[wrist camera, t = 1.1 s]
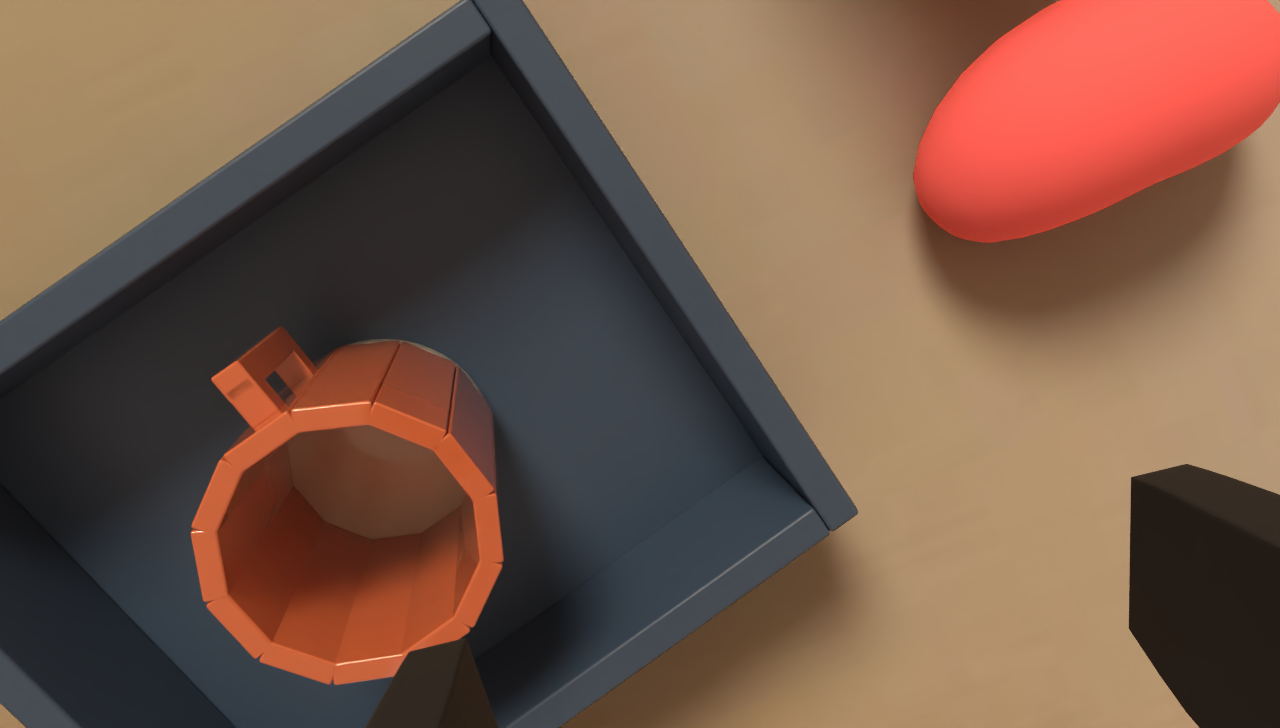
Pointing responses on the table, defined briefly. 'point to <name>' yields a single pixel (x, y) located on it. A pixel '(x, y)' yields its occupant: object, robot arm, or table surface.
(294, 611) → the cup
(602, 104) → the table surface
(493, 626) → the bin
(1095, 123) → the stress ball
